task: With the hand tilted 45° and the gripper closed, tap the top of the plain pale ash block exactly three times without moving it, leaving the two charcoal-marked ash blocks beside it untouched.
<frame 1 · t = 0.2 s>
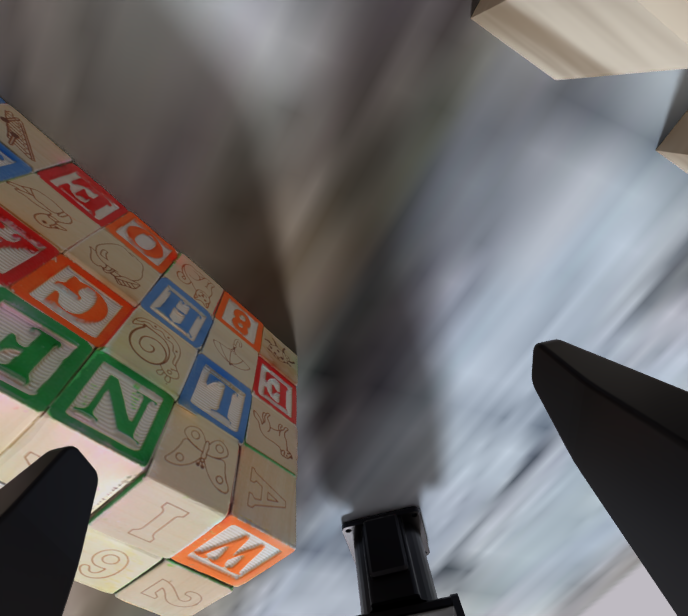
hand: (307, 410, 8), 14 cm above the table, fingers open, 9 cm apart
stack of blocks: (121, 267, 21), on the table
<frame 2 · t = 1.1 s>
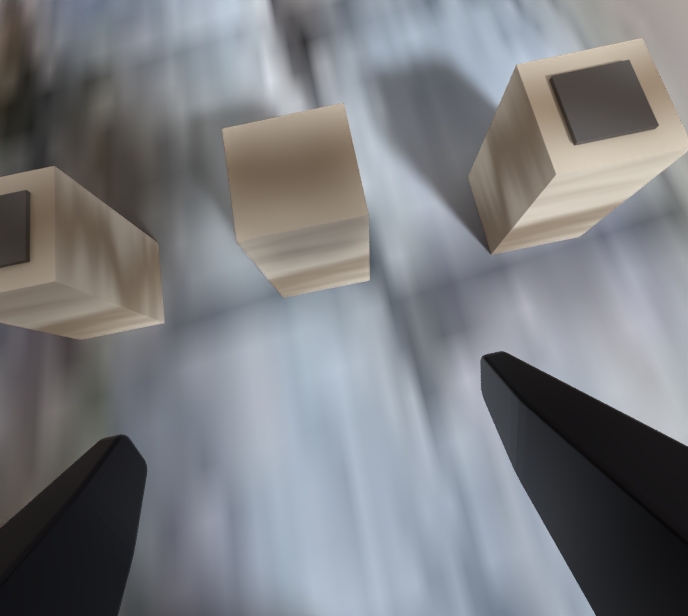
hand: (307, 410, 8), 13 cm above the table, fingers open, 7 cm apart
marked block 1: (521, 206, 23), on the table
marked block 2: (120, 290, 23), on the table
plain block: (318, 248, 23), on the table
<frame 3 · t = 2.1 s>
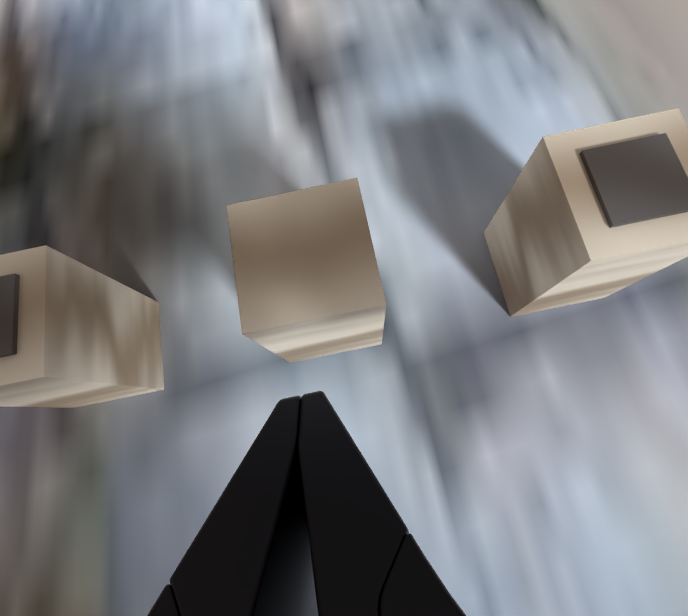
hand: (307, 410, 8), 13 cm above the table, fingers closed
marked block 1: (541, 264, 21), on the table
marked block 2: (117, 353, 22), on the table
plain block: (327, 309, 22), on the table
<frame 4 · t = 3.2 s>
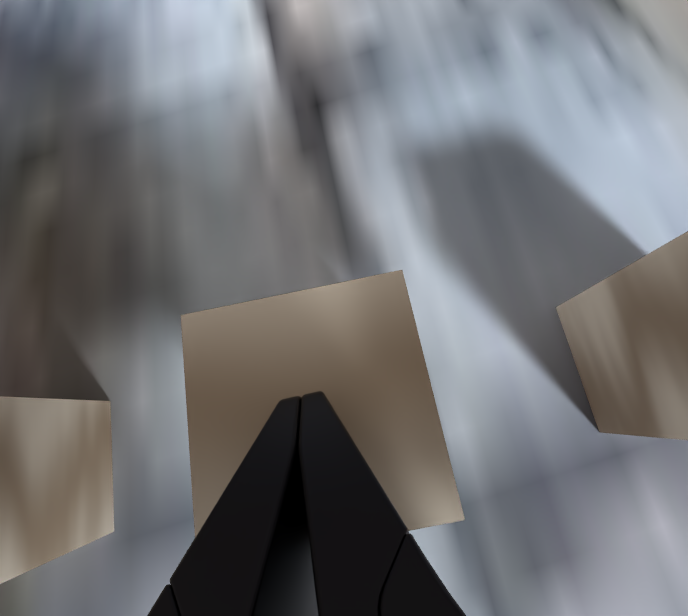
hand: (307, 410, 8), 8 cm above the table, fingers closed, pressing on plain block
marked block 1: (639, 354, 15), on the table
marked block 2: (52, 475, 16), on the table
plain block: (341, 415, 16), on the table, touching gripper
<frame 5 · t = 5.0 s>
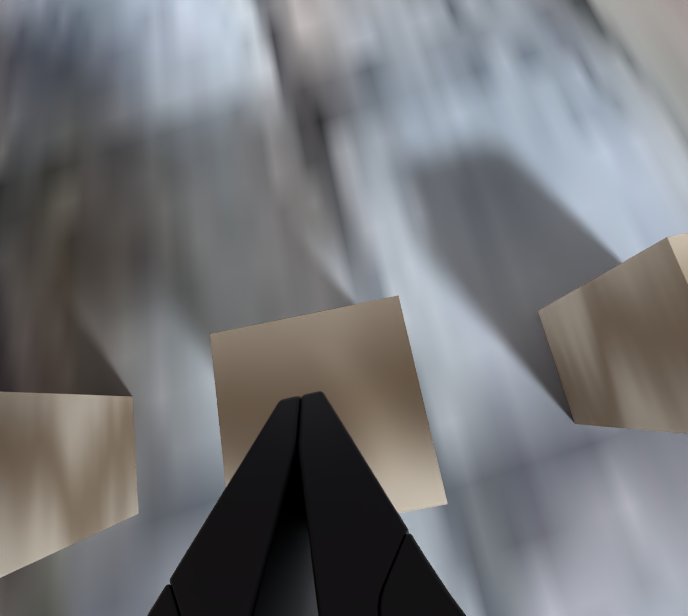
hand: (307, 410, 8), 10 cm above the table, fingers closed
marked block 1: (612, 354, 17), on the table
marked block 2: (81, 463, 17), on the table
plain block: (343, 409, 17), on the table
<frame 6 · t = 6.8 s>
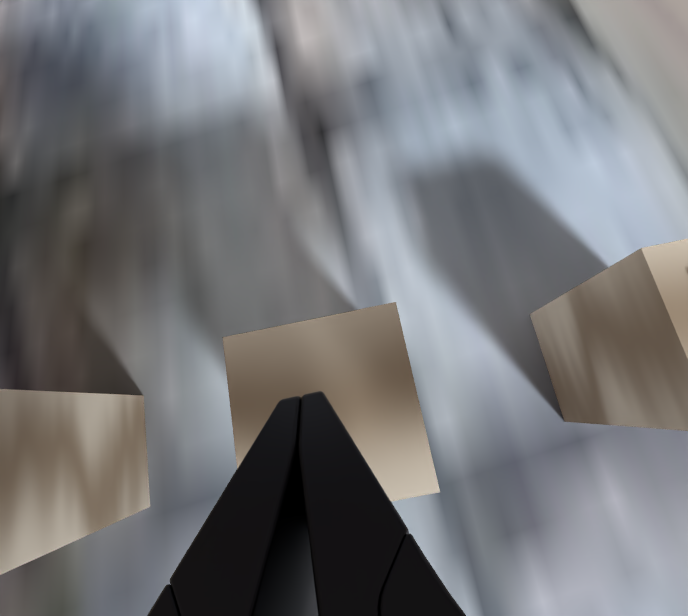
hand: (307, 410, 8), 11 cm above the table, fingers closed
marked block 1: (600, 355, 18), on the table
marked block 2: (95, 459, 18), on the table
plain block: (344, 408, 18), on the table
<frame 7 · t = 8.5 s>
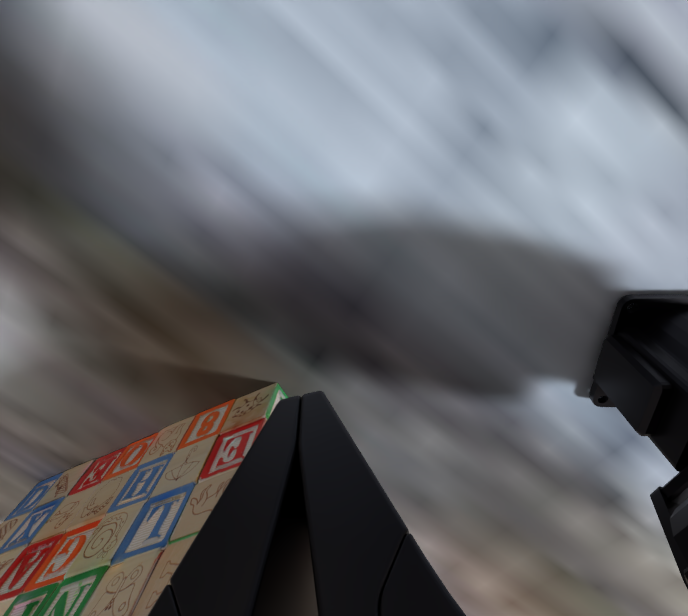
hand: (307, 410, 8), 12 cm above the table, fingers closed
stack of blocks: (176, 463, 27), on the table
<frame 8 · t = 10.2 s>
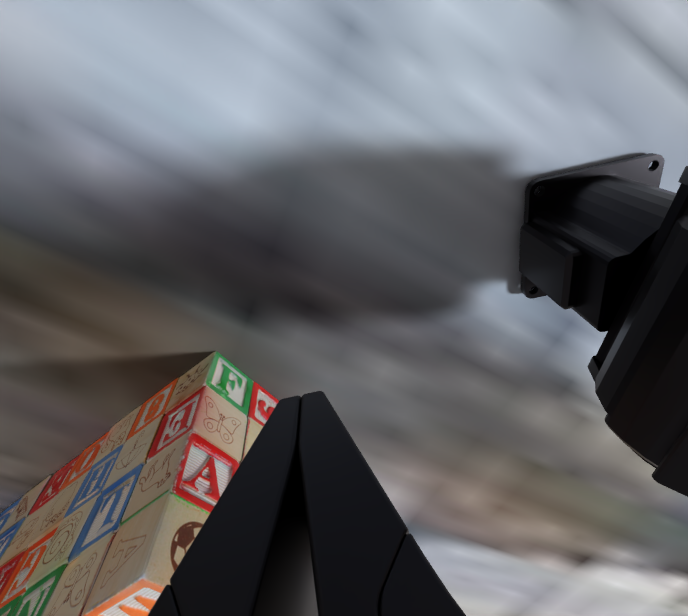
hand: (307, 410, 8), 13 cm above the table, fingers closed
stack of blocks: (139, 458, 26), on the table
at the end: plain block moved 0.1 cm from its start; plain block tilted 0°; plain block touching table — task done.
